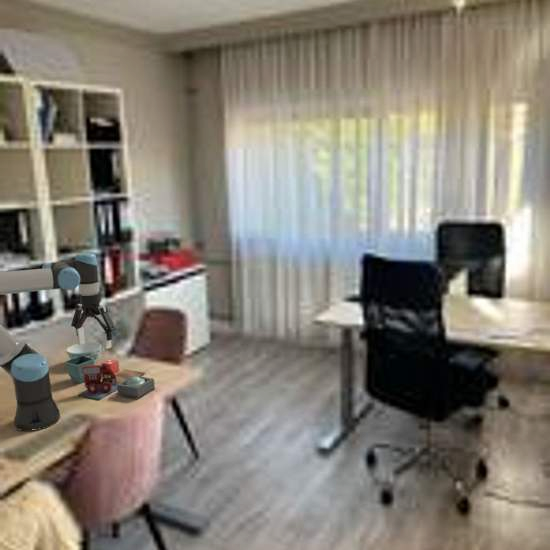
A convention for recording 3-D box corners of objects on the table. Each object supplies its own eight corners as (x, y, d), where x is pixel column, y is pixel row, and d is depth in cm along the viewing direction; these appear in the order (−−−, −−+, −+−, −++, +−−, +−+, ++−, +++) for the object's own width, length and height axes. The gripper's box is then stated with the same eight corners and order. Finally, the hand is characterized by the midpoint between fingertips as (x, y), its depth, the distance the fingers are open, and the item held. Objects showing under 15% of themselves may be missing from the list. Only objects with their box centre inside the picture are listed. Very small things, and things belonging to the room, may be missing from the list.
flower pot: (79, 386, 237) (76, 365, 235) (66, 381, 242) (63, 361, 240) (97, 379, 243) (94, 358, 242) (84, 374, 249) (82, 355, 247)
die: (111, 375, 246) (110, 364, 245) (102, 374, 249) (101, 362, 248) (119, 371, 251) (118, 360, 250) (110, 369, 253) (109, 358, 252)
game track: (99, 400, 222) (99, 398, 222) (77, 396, 227) (77, 394, 227) (145, 373, 246) (145, 372, 246) (125, 370, 251) (125, 369, 251)
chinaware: (71, 372, 252) (69, 355, 251) (65, 362, 265) (63, 346, 264) (106, 365, 259) (104, 348, 258) (99, 355, 272) (97, 339, 271)
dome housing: (138, 399, 221) (137, 388, 220) (118, 395, 225) (116, 384, 224) (154, 389, 230) (153, 378, 229) (134, 385, 234) (133, 375, 233)
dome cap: (137, 393, 223) (136, 381, 222) (123, 391, 226) (122, 379, 225) (149, 386, 229) (147, 374, 228) (134, 384, 232) (133, 372, 231)
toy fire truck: (116, 391, 228) (113, 366, 226) (83, 395, 226) (80, 370, 224) (117, 384, 235) (115, 360, 232) (86, 388, 233) (83, 363, 230)
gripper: (121, 293, 220) (126, 346, 224) (72, 288, 231) (78, 339, 235) (108, 298, 213) (113, 352, 218) (58, 293, 224) (64, 345, 228)
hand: (95, 346), depth 226 cm, fingers open, 13 cm apart
